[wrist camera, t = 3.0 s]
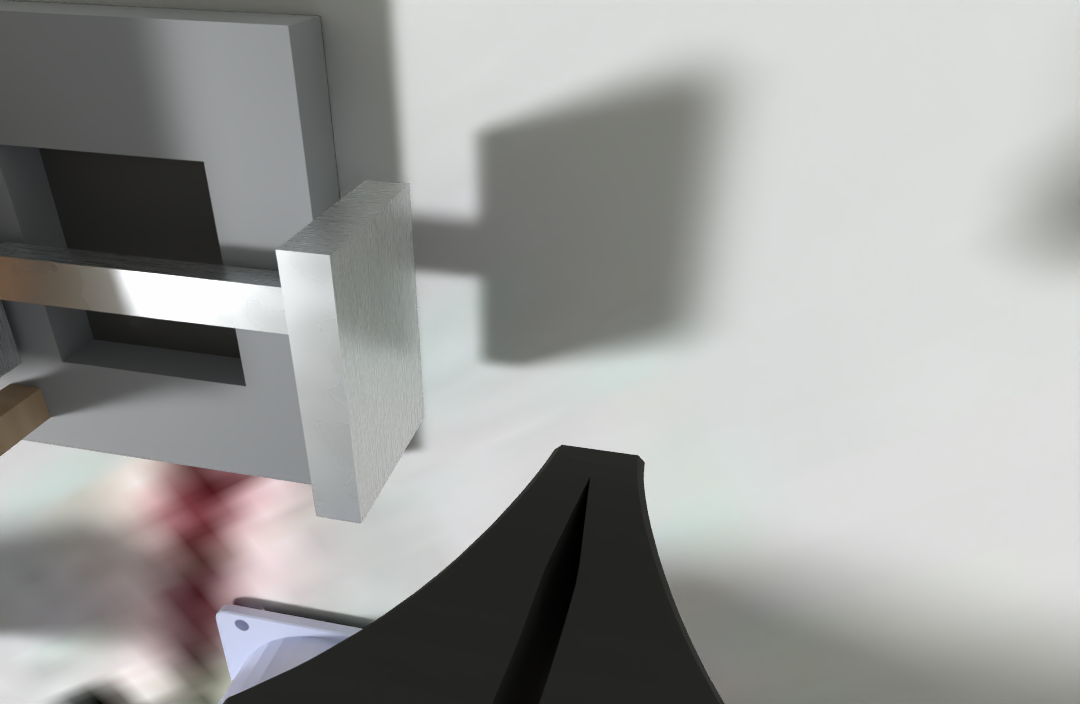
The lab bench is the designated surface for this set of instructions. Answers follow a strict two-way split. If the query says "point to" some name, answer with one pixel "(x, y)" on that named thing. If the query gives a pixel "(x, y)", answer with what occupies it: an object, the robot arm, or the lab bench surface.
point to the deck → (162, 216)
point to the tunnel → (20, 413)
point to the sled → (283, 326)
